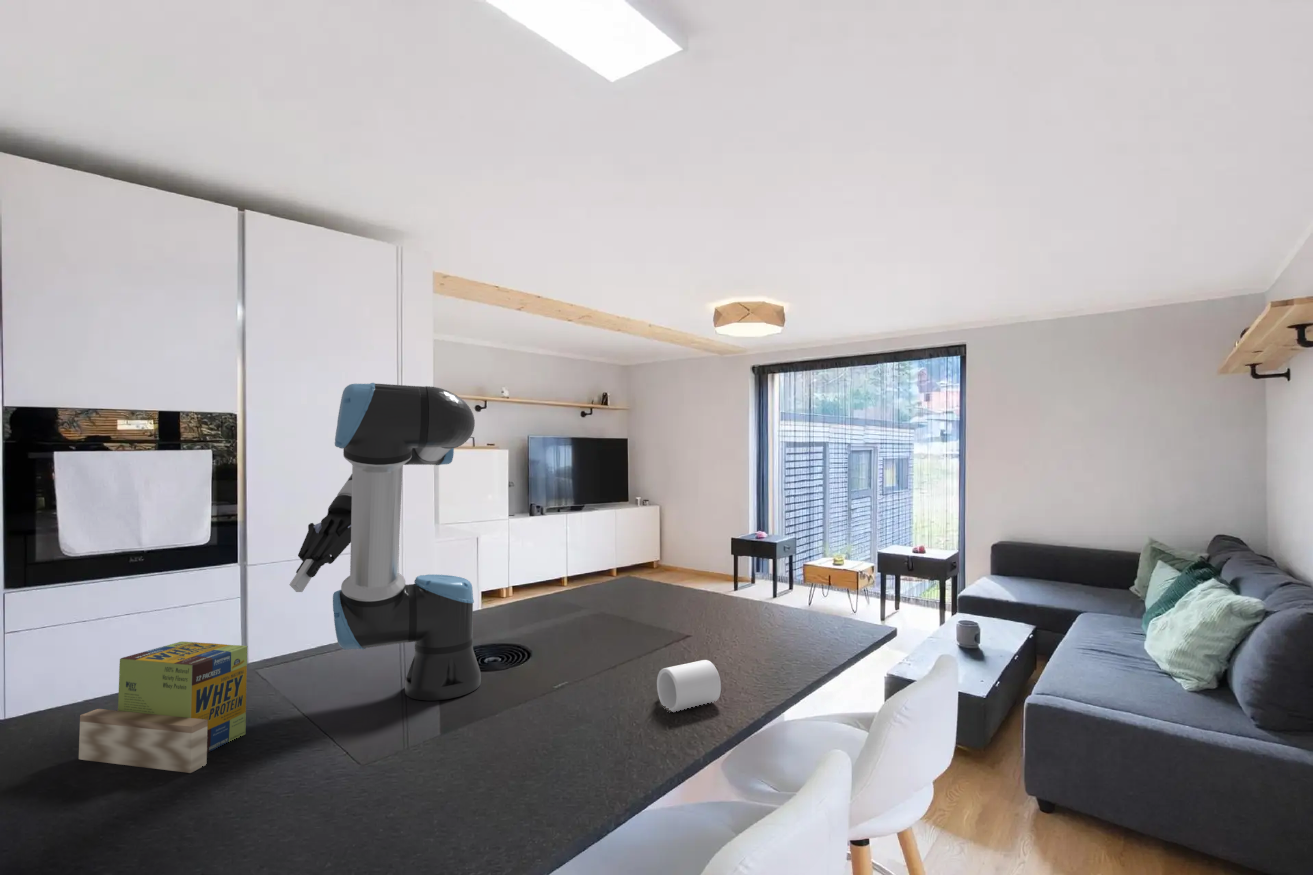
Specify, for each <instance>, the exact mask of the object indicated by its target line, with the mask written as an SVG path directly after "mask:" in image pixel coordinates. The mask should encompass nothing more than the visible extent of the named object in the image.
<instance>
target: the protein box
mask: <svg viewBox="0 0 1313 875" xmlns="http://www.w3.org/2000/svg"><path fill="white" fill-rule="evenodd" d="M247 666H248V645H240V644H239V645H235V644H223V643H213V642H212V643H210V642H195V641H178V642H175V643H171V644H167V645H163V646H160V647H156V648H152V649H149V650H146V651H142V652H138V653H134V654H130V655H128V656H123V657H121V658H119V669H118V692H117V693H118V694H117V695H118V698H117V699H118V700H117V701H118V703H117V711H126V712H136V713H146V714H156V715H166V716H176V717H186V718H196V719H206V720H208V724H207V754H208V753H210V752H212V751H214V750H217V749H218V747H219V748H220V746H221V747H222V745H223V746H224V744H225V745H226V743H227V744H229V743H231V742H233V741H234V739H235V740H236V738H237V739H239V738H241V737H242V736H245V735H246V733H247V732H246V726H247V724H246V723H247V720H246V718H247V678H248V677H247V674H248V671H247V670H248V669H247V668H248V667H247ZM240 736H241V737H240ZM232 740H233V741H232ZM230 741H231V742H230ZM228 742H229V743H228ZM216 748H217V749H216Z"/></svg>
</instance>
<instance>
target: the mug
mask: <svg viewBox="0 0 1313 875" xmlns="http://www.w3.org/2000/svg"><path fill="white" fill-rule="evenodd" d="M721 682H722V681H721V678H720V673H719V672H718V670H717V668H716V667H715V664H714V663H713V662H711V661H710V660H708V659H701V660H697V661H693V662H688V663H684V664H683V663H681V664H678V665H673V666H669V667H668V666H667V667H664V668H661V669H659V672H658V673H657V678H656V690H657V691H656V692H657V695H658V699H659V702H660V704H661V705H663V706H666V708H669V710H671V711H672V712H673V713H676V711H677V712H679V711H680V710H681V711H685V710H687V708H689V709H692V708H691V707H693V708H696V707H695V706H697V707H700V706H699V705H701V706H704V705H703V704H705V705H708V704H707V703H709V704H711V702H712V703H715V702H716V701H718V700H719V698H720V696H721V691H722V690H721V689H722V685H721V684H722V683H721ZM714 701H715V702H714ZM663 706H662V707H663ZM684 709H685V710H684Z"/></svg>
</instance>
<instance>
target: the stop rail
mask: <svg viewBox="0 0 1313 875" xmlns="http://www.w3.org/2000/svg"><path fill="white" fill-rule="evenodd" d="M207 724H208V720H206V719H196V718H186V717H176V716H166V715H156V714H146V713H136V712H126V711H118V710H116V709H115V710H113V709H105V708H104V709H103V708H96V709H93V710H90V711H88V712H86V713H82V714H80V716H79V739H78V740H79V741H78V760H83V761H90V762H97V763H98V762H99V763H106V764H107V763H108V764H113V765H114V764H116V765H121V766H122V765H123V766H124V765H125V766H130V767H131V766H132V767H137V768H138V767H139V768H147V769H154V770H155V769H156V770H162V771H164V770H165V771H171V772H179V773H180V772H181V773H188V774H191V773H194V772H195V771H197V770H199V769H201V768H203V767H205V766H207V765H208V764H207V761H208V760H207V758H208V753H207ZM206 764H207V765H206ZM202 766H203V767H202Z"/></svg>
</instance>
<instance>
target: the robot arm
mask: <svg viewBox="0 0 1313 875" xmlns="http://www.w3.org/2000/svg"><path fill="white" fill-rule="evenodd" d="M340 398H341V399H340V404H339V409H338V415H337V416H338V417H337V424H336V428H335V429H336V431H335V437H334V446H335V447H336V448H339V449H342V450H343V452H342V453H343V458H344V459H345V460H346V461H347V462H348V463H350V464H351V466H352V471H351V472H352V473H351V474H350V476H349V477H348V479H347V480H346V482H345V483H344V484H343V486H342V487H341V489H340V490H339V491H338V493H337V494H336V497H334V499H333V500H332V502H331V503H330V505H329V507H328V508H327V514H326V515H325V517H323V518H322V519H321V522H319V523H318V522H317V523H313V522H310V523H309V524H308V526H307V530H308V531H307V533H306V535H305V538H304V540H303V543H302V545H301V547H300V549H299V551H298V552H299V553H298V554H297V556H298V558H299V559H300V560H301V561H302V562H301V563H300V565H299V567H298V568H297V569H296V572H295V573H296V574H295V575H294V577H293V578H292V580H291V582H290V583H289V586H290V588H292V589H293V590H294V592H296V593H303V591H304V590H305V589H306V588H307V586H308V584H309V583H310V581H311V579H312V578H315V577H316V575H317V573H318V572H319V570H320V569H321V567H323V566H324V565H325V564H329V565H330V564H333V563H334V561H336V560H337V558H338V557H339V556H340V555H341V554H342V553H343V552H344V551H345V550H346V548H347V547H348V546H349V545H350V560H349V561H350V568H349V570H350V571H349V572H350V573H349V576H347V577H346V578H345V579H344V580H343V581H342V582H341V588H340V589H339V590H337V591H334V592H333V593H332V611H333V622H334V629H335V630H334V631H335V636H336V640H337V643H338V646H339V647H340V648H341V649H343V650H347V651H349V650H359V649H360V650H366V649H369V648H376V647H383V646H393V645H397V644H398V645H399V644H406V643H407V644H408V643H412V642H413V643H414V654H413V656H412V660H411V662H410V663H411V664H410V666H409V668H408V672H407V675H406V678H405V681H404V694H405V695H406V696H407V697H409V698H411V699H414V700H419V701H443V700H449V699H454V698H459V697H462V696H465V695H468V694H470V693H472V692H474V691H476V690H477V689H479V687H480V686H481V684H482V682H481V681H482V679H481V678H482V677H481V676H482V673H481V669H480V666H479V663H478V661H477V657H476V654H475V651H474V647H473V646H474V645H473V636H474V634H473V622H474V620H473V619H474V618H473V616H474V615H473V611H474V603H475V601H474V593H473V585H472V583H471V581H470V580H469V579H467V578H465V577H461V576H457V575H449V574H420V575H418V576H416V577H415V579H414V583H413V584H412V583H409V584H406V578H405V577H404V576H403V575H402V574H400V572H399V556H400V555H399V554H400V553H399V550H400V534H401V533H400V532H401V531H400V529H401V513H402V512H401V510H402V506H401V505H402V486H403V468H404V465H405V466H407V465H408V466H409V465H413V466H414V465H416V466H417V465H418V466H419V465H421V466H424V465H425V466H426V465H430V466H432V465H433V466H434V465H435V466H441V465H450V464H451V463H452V462H453V459H454V454H455V449H456V448H458V447H461V446H462V445H464V444H465V443H466V442H467V441H468V440H469V439H470V438H471V437H472V436H473V433H474V432H475V431H474V430H475V416H474V413H473V410H472V409H471V407H470V406H469V405H468V403H467V402H466V401H464V400H463V398H461V397H460V396H458V395H456V394H455V393H454V392H451V391H450V390H447V389H443V388H442V387H441V388H440V387H436V386H427V385H426V386H420V385H406V384H405V385H403V384H390V383H389V384H388V383H386V384H385V383H375V382H371V383H351V384H348V385H346V386H345V387H344V388H343V390H342V395H341V397H340Z"/></svg>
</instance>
